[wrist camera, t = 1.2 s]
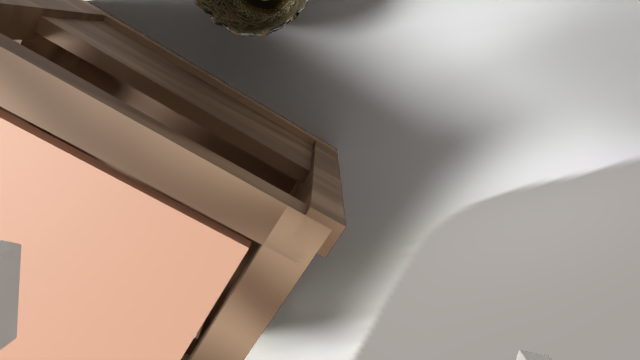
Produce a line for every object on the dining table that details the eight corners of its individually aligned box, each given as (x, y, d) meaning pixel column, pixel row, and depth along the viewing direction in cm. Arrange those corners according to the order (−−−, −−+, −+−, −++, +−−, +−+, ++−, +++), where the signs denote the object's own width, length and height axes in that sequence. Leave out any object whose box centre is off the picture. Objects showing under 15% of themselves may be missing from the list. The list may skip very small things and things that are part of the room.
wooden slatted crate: (86, 1, 30) (-119, -33, 16) (336, 149, 34) (346, 226, 20) (-1, 228, 37) (-205, 347, 22) (218, 333, 40) (162, 493, 26)
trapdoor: (-5, 82, 21) (-102, 95, 16) (257, 223, 23) (240, 271, 18) (-103, 376, 27) (-194, 448, 22) (112, 462, 29) (71, 544, 24)
